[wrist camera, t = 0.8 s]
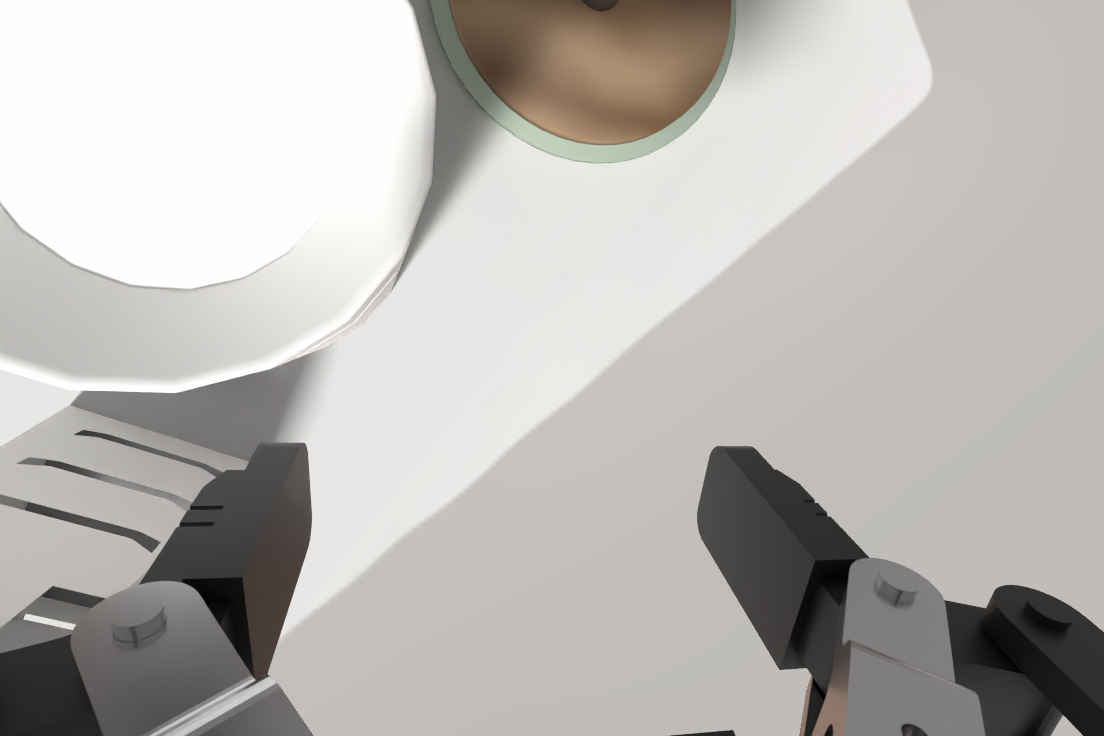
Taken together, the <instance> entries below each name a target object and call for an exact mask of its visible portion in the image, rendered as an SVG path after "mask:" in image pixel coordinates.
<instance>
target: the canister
mask: <svg viewBox="0 0 1104 736" xmlns="http://www.w3.org/2000/svg"><path fill="white" fill-rule="evenodd" d="M435 115H436V92H435V88H434V84H433V81H432V77H431V73H430V69H429V65H428V61H427V57H426V54H425V50H424V46H423V42H422V38H421V34H420V30H419V27H418V23H417V19H416V15H415V11H414V8H413V6H412V5H411V3H410V1H409V0H0V369H2V370H5V371H8V372H12V373H15V374H18V375H22V376H25V377H28V378H32V379H35V380H38V381H41V382H45V383H48V384H51V385H55V386H58V387H61V388H65V389H68V390H91V391H127V392H163V393H178V392H182V391H186V390H189V389H193V388H197V387H201V386H205V385H209V384H213V383H217V382H221V381H225V380H229V379H233V378H237V377H240V376H244V375H248V374H252V373H256V372H260V371H264V370H268V369H272V368H274V367H277V366H279V365H282V364H284V363H287V362H289V361H292V360H293V359H297V358H299V357H302V356H304V355H307V354H309V353H312V352H314V351H317V350H319V349H322V348H324V347H327V346H329V345H331V344H332V343H334V342H336V341H337V340H339V339H341V338H342V337H344V336H345V335H347V334H349V333H350V332H352V331H354V330H355V329H357V328H358V327H360V326H362V325H363V324H365V323H366V321H367V320H368V319H369V318H370V317H371V315H372V314H373V313H374V312H375V311H376V309H377V308H378V307H379V306H380V305H381V304H382V302H383V301H384V300H385V299H386V298H387V296H388V295H389V294H390V293H391V291H392V288H393V285H394V283H395V280H396V278H397V275H398V273H399V270H400V268H401V265H402V262H403V260H404V257H405V255H406V252H407V249H408V246H409V244H410V241H411V238H412V235H413V233H414V230H415V227H416V224H417V222H418V219H419V216H420V213H421V210H422V208H423V205H424V202H425V199H426V197H427V194H428V191H429V188H430V186H431V183H432V176H433V156H434V136H435Z"/></svg>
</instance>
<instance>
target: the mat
mask: <svg viewBox="0 0 1104 736" xmlns="http://www.w3.org/2000/svg"><path fill="white" fill-rule="evenodd" d="M430 4H431V9H432V13H433V17H434V22H435V26H436V29H437V32H438V34H439V37H440V40H441V43H442V46H443V48H444V50H445V52H446V54H447V56H448V59H449V61H450V63H451V65H452V67H453V69H454V70H455V72H456V74H457V75H458V77H459V78H460V80H461V81H462V83H463V84H464V86H465V87H466V89H467V90H468V92H469V93H470V94H471V95H472V96H473V98H474V99H475V100H476V101H477V103H478V104H479V105H480V106H481V107H482V108H483V109H484V110H485V111H486V112H487V113H488V114H489V115H490V116H491V117H492V118H493V119H494V120H495V121H496V122H497V123H498V124H500V125H501V126H502V127H504V128H505V129H506V130H508V131H509V132H510V133H512V134H513V135H514V136H516V137H517V138H519V139H521V140H522V141H524V142H526V143H528V144H529V145H531V146H533V147H535V148H537V149H539V150H542V151H544V152H547V153H549V154H551V155H554V156H558V157H561V158H565V159H569V160H572V161H579V162H587V163H615V162H621V161H627V160H632V159H635V158H638V157H641V156H644V155H647V154H650V153H652V152H654V151H656V150H658V149H660V148H662V147H664V146H666V145H667V144H669V143H670V142H672V141H673V140H674V139H676V138H677V137H679V136H680V135H682V134H683V133H684V132H685V131H686V130H687V129H689V128H690V127H691V126H692V125H693V124H694V123H695V122H696V121H697V120H698V119H699V117H700V116H701V115H702V114H703V112H704V111H705V110H706V109H707V108H708V106H709V105H710V103H711V101H712V100H713V98H714V96H715V95H716V93H717V91H718V90H719V87H720V85H721V83H722V80H723V78H724V76H725V74H726V71H727V67H728V64H729V61H730V57H731V54H732V48H733V42H734V36H735V23H736V4H735V0H731V21H730V29H729V35H728V40H727V45H726V48H725V51H724V55H723V58H722V61H721V63H720V65H719V68H718V70H717V72H716V74H715V76H714V78H713V80H712V81H711V83H710V85H709V86H708V88H707V90H706V91H705V92H704V94H703V95H702V96H701V97H700V99H699V100H698V101H697V102H696V104H695V105H694V106H693V107H691V108H690V109H689V110H688V111H687V112H686V113H685V114H684V115H683V116H682V117H680V118H679V119H677V120H676V121H674V122H673V123H671V124H670V125H668V126H667V127H666V128H664V129H663V130H661V131H659V132H657V133H655V134H653V135H651V136H649V137H647V138H643V139H640V140H637V141H634V142H631V143H624V144H618V145H590V144H582V143H576V142H573V141H569V140H566V139H562V138H559V137H557V136H554V135H552V134H550V133H547V132H545V131H543V130H541V129H539V128H537V127H536V126H534V125H532V124H531V123H529V122H527V121H525V120H524V119H523V118H522V117H520V116H519V115H518V114H516V113H515V112H514V111H512V110H511V109H510V108H509V107H508V106H507V105H506V104H504V103H503V102H502V101H501V100H500V99H499V98H498V97H497V96H496V95H495V94H494V93H493V91H492V90H491V89H490V88H489V86H488V85H487V84H486V83H485V82H484V80H483V79H482V78H481V77H480V75H479V73H478V72H477V70H476V69H475V67H474V66H473V64H472V62H471V61H470V59H469V58H468V55H467V53H466V51H465V49H464V47H463V45H462V43H461V41H460V39H459V36H458V33H457V30H456V28H455V25H454V22H453V19H452V15H451V11H450V6H449V2H448V0H430Z"/></svg>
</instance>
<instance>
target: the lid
mask: <svg viewBox="0 0 1104 736" xmlns="http://www.w3.org/2000/svg"><path fill="white" fill-rule="evenodd" d="M448 2H449V6H450V11H451V15H452V19H453V22H454V25H455V28H456V30H457V33H458V36H459V39H460V41H461V43H462V45H463V47H464V49H465V51H466V53H467V55H468V58H469V59H470V61H471V62H472V64H473V66H474V67H475V69H476V70H477V72H478V73H479V75H480V77H481V78H482V79H483V80H484V82H485V83H486V84H487V85H488V86H489V88H490V89H491V90H492V91H493V93H494V94H495V95H496V96H497V97H498V98H499V99H500V100H501V101H502V102H503V103H504V104H506V105H507V106H508V107H509V108H510V109H511V110H512V111H514V112H515V113H516V114H518V115H519V116H520V117H522V118H523V119H524V120H525V121H527V122H529V123H531V124H532V125H534V126H536V127H537V128H539V129H541V130H543V131H545V132H547V133H550V134H552V135H554V136H557V137H559V138H562V139H566V140H569V141H573V142H576V143H582V144H590V145H618V144H624V143H631V142H634V141H637V140H640V139H643V138H647V137H649V136H651V135H653V134H655V133H657V132H659V131H661V130H663V129H664V128H666V127H667V126H668V125H670V124H671V123H673V122H674V121H676V120H677V119H679V118H680V117H682V116H683V115H684V114H685V113H686V112H687V111H688V110H689V109H690V108H691V107H693V106H694V105H695V104H696V102H697V101H698V100H699V99H700V97H701V96H702V95H703V94H704V92H705V91H706V90H707V88H708V86H709V85H710V83H711V81H712V80H713V78H714V76H715V74H716V72H717V70H718V68H719V65H720V63H721V61H722V58H723V55H724V51H725V48H726V45H727V40H728V35H729V29H730V21H731V0H448Z"/></svg>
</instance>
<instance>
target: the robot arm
mask: <svg viewBox="0 0 1104 736" xmlns="http://www.w3.org/2000/svg"><path fill="white" fill-rule="evenodd" d="M697 522H698V529H699V533H700V536H701V539H702V540H703V542H704V544H705V546H706V547H707V549H708V551H709V552H710V554H711V556H712V557H713V559H714V561H715V562H716V564H717V566H718V567H719V569H720V571H721V572H722V574H723V576H724V577H725V579H726V581H727V583H728V584H729V586H730V587H731V589H732V591H733V593H734V594H735V596H736V598H737V599H738V601H739V603H740V604H741V606H742V608H743V609H744V611H745V612H746V614H747V616H748V618H749V619H750V621H751V623H752V624H753V626H754V628H755V630H756V631H757V633H758V634H759V636H760V638H761V639H762V641H763V643H764V645H765V646H766V648H767V650H768V651H769V653H770V655H771V656H772V658H773V660H774V661H775V663H776V665H777V666H778V668H779V669H780V670H784V669H798V668H807V669H808V670H809V672H810V673H811V675H812V676H811V679H810V681H809V684H808V687H807V690H806V696H805V702H804V710H803V715H802V723H801V728H800V735H799V736H1051V734H1052V732H1053V731H1054V729H1055V727H1056V725H1057V724H1058V722H1059V721H1060V719H1061V717H1062V716H1063V715H1064V716H1065V717H1066V718H1067V719H1068V720H1069V721H1070V722H1071V723H1072V724H1073V725H1074V726H1075V728H1076V729H1077V730H1078V731H1079V732H1080V733H1081V734H1082V735H1083V736H1104V632H1103V631H1102V630H1100V629H1099V628H1098V627H1097V626H1096V625H1094V624H1093V623H1092V622H1091V621H1090V620H1088V619H1087V618H1086V617H1085V616H1083V615H1082V614H1081V613H1080V612H1078V611H1077V610H1075V609H1074V608H1072V607H1071V606H1069V605H1067V604H1066V603H1064V602H1062V601H1060V600H1059V599H1057V598H1055V597H1053V596H1050V595H1048V594H1045V593H1043V592H1040V591H1038V590H1034V589H1031V588H1027V587H1023V586H1017V585H1004V586H1001V587H998V588H997V589H996V590H995V591H994V593H993V595H992V597H991V599H990V601H989V603H988V605H987V607H986V608H981V607H976V606H971V605H966V604H960V603H955V602H950V601H946V600H944V599H943V597H942V595H941V594H940V592H939V591H938V590H937V589H936V588H935V587H934V586H933V585H932V584H931V583H930V582H929V581H928V580H926V579H925V578H924V577H922V576H921V575H919V574H918V573H916V572H914V571H913V570H911V569H909V568H907V567H905V566H902V565H900V564H897V563H894V562H891V561H888V560H883V559H877V558H869V557H868V556H867V555H866V554H865V553H864V552H863V551H862V549H860V547H859V546H858V545H857V544H856V543H855V542H854V541H853V540H852V539H851V538H850V537H849V536H848V535H847V534H846V532H845V531H844V530H843V529H842V528H841V527H840V526H839V525H838V524H837V523H836V522H835V521H834V520H833V519H832V518H831V517H828V516H827V512H826V511H825V510H823V508H822V507H821V506H820V505H819V504H818V503H815V502H814V499H813V498H812V497H811V496H810V495H809V494H808V492H807V491H806V490H805V489H804V488H803V487H802V486H801V485H800V484H799V483H797V482H796V481H794V480H793V479H791V478H789V477H788V476H786V475H785V474H783V473H781V472H780V471H778V470H774V469H773V468H772V466H771V465H770V464H769V463H768V462H767V461H766V460H765V459H764V458H763V457H762V456H761V454H759V452H758V451H757V450H756V449H755V448H753V447H750V446H717V447H715V448H714V449H713V450H712V452H711V454H710V457H709V461H708V466H707V470H706V475H705V479H704V484H703V488H702V492H701V497H700V501H699V506H698V512H697ZM311 525H312V510H311V494H310V479H309V463H308V451H307V447H306V444H305V443H261V444H259V446H258V447H257V449H256V451H255V453H254V454H253V456H252V458H251V460H250V461H249V463H248V465H247V467H246V469H245V470H226V471H225V472H223V473H222V474H220V475H219V476H217V477H216V478H215V479H213V480H212V481H210V482H209V483H208V484H206V485H205V486H203V488H202V489H201V491H200V492H199V494H198V495H197V497H196V498H195V500H194V501H193V503H192V504H191V506H190V510H187V512H186V513H185V515H184V516H183V518H182V520H181V521H180V524H179V527H176V529H175V530H174V532H173V533H172V535H171V536H170V538H169V539H168V541H167V542H166V544H165V545H164V547H163V548H162V550H161V551H160V553H159V555H158V556H157V558H156V559H155V561H154V562H153V564H152V565H151V567H150V568H149V570H148V571H147V573H146V574H145V576H144V577H143V579H142V580H141V582H140V583H139V585H136V586H133V587H130V588H127V589H124V590H122V591H120V592H117V593H115V594H113V595H111V596H109V597H108V598H106V599H104V600H102V601H101V602H99V603H98V604H97V605H95V606H94V607H93V608H91V609H90V610H89V611H88V612H87V613H86V614H85V615H84V616H83V617H82V618H81V619H80V620H79V621H78V623H77V624H76V626H75V627H74V630H73V632H72V634H70V635H67V636H64V637H61V638H57V639H54V640H50V641H47V642H43V643H39V644H35V645H31V646H27V647H23V648H19V649H15V650H11V651H7V652H3V653H0V736H313V734H312V733H311V732H310V730H309V728H308V727H307V726H306V724H305V723H304V721H303V720H302V718H301V717H300V715H299V714H298V713H297V711H296V709H295V708H294V706H293V705H292V703H291V702H290V701H289V699H288V698H287V696H286V695H285V693H284V692H283V690H282V689H281V687H280V686H279V685H278V683H277V682H276V681H275V680H274V679H273V678H272V677H271V676H269V675H267V674H268V670H269V667H270V664H271V661H272V658H273V655H274V652H275V649H276V646H277V643H278V640H279V636H280V633H281V630H282V627H283V624H284V621H285V618H286V615H287V612H288V609H289V605H290V602H291V599H292V596H293V593H294V590H295V587H296V584H297V581H298V578H299V574H300V571H301V568H302V565H303V562H304V559H305V556H306V553H307V550H308V546H309V541H310V535H311ZM672 736H735V733H734V731H733V730H730V731H718V732H707V733H695V734H684V735H672Z"/></svg>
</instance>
